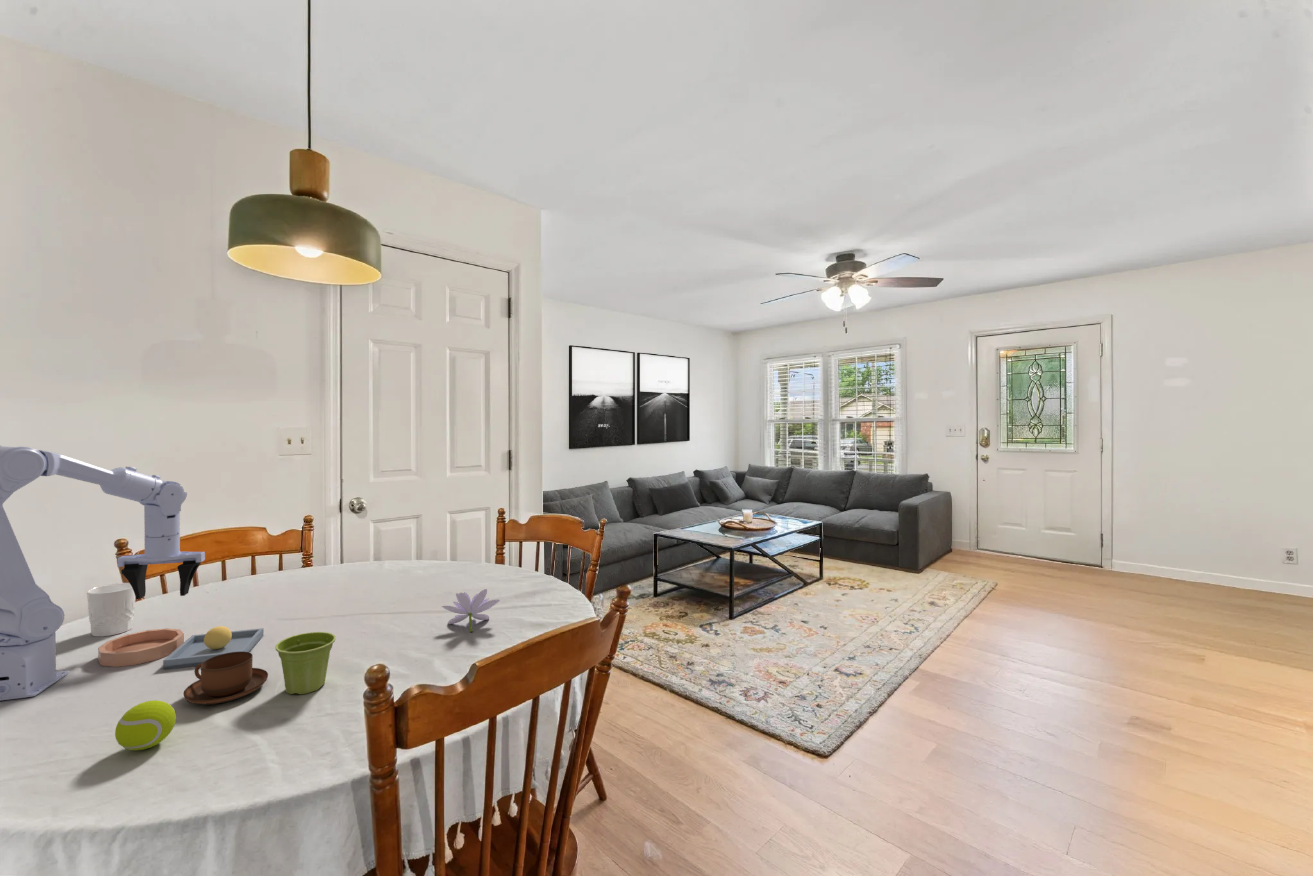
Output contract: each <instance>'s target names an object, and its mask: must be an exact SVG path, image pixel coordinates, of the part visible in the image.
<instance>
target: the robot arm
mask: <svg viewBox="0 0 1313 876" xmlns="http://www.w3.org/2000/svg"><path fill="white" fill-rule="evenodd" d="M137 470H138V469H137V468H136V467H134V466H125V467H121V466H120V467H116V468H113V469H106V468H103V467H100V466H97V465H94V464H91V463H88V462H85V461H82V460H80V459H77V458H74V457H70V456H67V455H64V454H61V453H56V452H53V451H48V450H41V449H35V448H33V447H29V446H2V445H0V701H8V700H15V699H24V698H30V697H31V698H32V697H35V696H37V695H38V694H40V693H41V692H43V691H44V690H46V689H48V688H49V687H50V686H52V685H54V684H55V683H56V682H57V681H60V680H61V679H62V678H63V677H65V676H66V675H68V674H69V672H70V671H69V670H60V671H57V654H56V653H57V651H56V649H57V645H56V642H57V641H56V639H57V638H56V637H57V636H56V632H57V631H58V630H60V628H61V626H63V624H64V621H65V611H64V610H63V608H61V607H60V605H57V604H56V603H54V602H53V601H52V600H51V598H50V595H49V594H48V593H47V592H46V591H45V590H44V589H42V588H41V587H40V586H39V585H38V584H37V583H36V581H35V579H34V577H33V573H32V572H31V569H30V567H29V565H28V562H27V560H26V558H25V555H24V553H23V550H22V549H21V546H20V543H19V541H18V539H17V536H16V534H15V531H14V529H13V527H12V524H11V522H10V520H9V517H8V516H7V513H6V511H5V509H4V503H5V502H6V501H7V500H8V499H10V497H11V496H12V495H13V494H14V493H15V492H17V491H18V490H20V489H22V488H23V487H25V486H26V485H28V484H30V483H32V482H34V481H35V480H37V479H38V478H40V477H51V476H54V475H57V476H60V477H66V478H69V479H73V480H78V481H82V482H85V483H86V482H87V483H91V484H93V485H94V484H95V485H97V486H99V487H100V489H101V491H102V492H103V493H104V494H106V495H109V496H114V497H119V498H122V499H126V500H130V501H134V502H138V503H139V504H141V506H143V507H144V510H143V511H144V513H143V517H144V518H143V519H144V520H143V521H144V553H142V554H141V553H140V554H130V555H121V556H119V557H117V567H118V568H123V569H121V572H120V573H121V575H123V576H124V578H126V580H127V581H128V583H130V585H131V586H132V588H133V591H134V593H135V596H136V597H135V600H141V599H143V598H144V597H145V596H146V593H147V592H146V578H147V577H146V576H147V571H148V565H162V564H163V565H165V564H176V563H177V564H178V563H179V565H177V571H178V576H179V595H180V597H184V596H186V595H188V594H189V592H190V587H191V583H192V581H193V578H194V576H195V574H196V572H197V570H198V568H199V567H200V565H201V564H202V562H204V561H205V560H206V552H205V551H181V548H180V547H181V538H180V537H181V536H180V535H181V534H180V533H181V528H180V525H181V524H180V523H181V522H180V520H181V518H180V517H181V511H182V504H183V503H184V502H185V501H186V499H187V496H188V492H186V491H185V490H184V487H183V486H182V485H181V484H180V483H179V482H177V481H170V480H162V479H161V476H160V475H155V474H153V475H149V474H146V473H142V472H138V471H137ZM180 563H182V564H180Z"/></svg>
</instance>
